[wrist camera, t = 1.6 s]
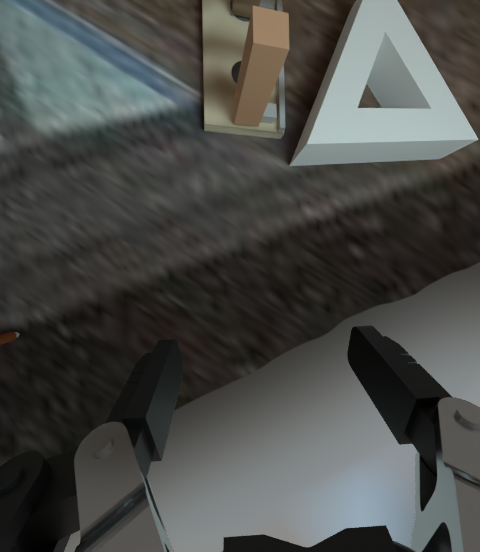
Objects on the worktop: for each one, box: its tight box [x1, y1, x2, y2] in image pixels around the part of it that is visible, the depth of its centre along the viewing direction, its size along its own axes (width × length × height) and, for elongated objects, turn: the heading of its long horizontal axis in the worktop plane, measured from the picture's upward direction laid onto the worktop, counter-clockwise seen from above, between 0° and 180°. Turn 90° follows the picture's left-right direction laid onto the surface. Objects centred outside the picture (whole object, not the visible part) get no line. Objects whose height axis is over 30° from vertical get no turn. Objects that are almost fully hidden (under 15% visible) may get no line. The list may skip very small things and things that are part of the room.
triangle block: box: [289, 0, 478, 166], centre depth 36 cm, size 30×26×6 cm
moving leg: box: [234, 6, 289, 127], centre depth 27 cm, size 4×6×11 cm, turn 91°
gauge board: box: [202, 0, 285, 139], centre depth 33 cm, size 22×12×2 cm, turn 1°
